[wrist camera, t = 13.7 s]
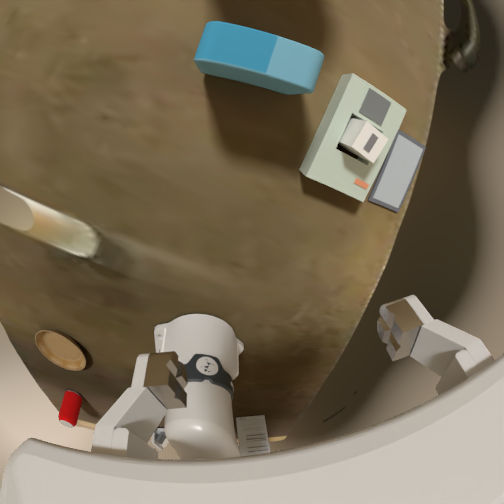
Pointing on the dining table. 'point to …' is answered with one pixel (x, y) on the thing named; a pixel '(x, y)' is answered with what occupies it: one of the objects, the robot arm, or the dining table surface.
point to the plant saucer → (60, 349)
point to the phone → (397, 172)
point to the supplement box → (252, 435)
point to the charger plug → (363, 139)
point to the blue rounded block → (258, 58)
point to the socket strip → (332, 127)
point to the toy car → (159, 438)
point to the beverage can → (70, 408)
